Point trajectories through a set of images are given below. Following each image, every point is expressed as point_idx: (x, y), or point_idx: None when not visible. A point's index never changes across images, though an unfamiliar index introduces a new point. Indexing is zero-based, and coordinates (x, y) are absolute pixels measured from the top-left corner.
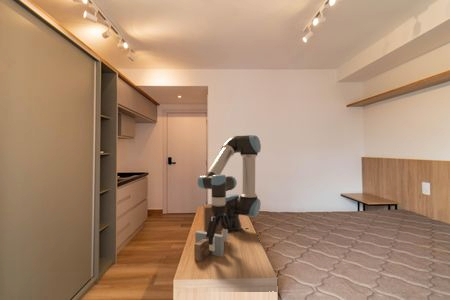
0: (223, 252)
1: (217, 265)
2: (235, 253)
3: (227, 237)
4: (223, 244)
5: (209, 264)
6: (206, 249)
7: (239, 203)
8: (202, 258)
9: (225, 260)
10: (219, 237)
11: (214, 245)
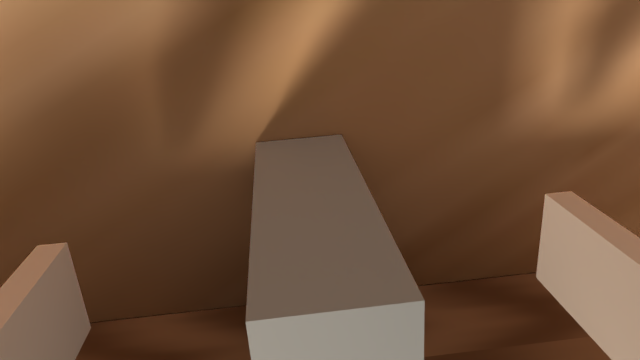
0: (268, 152)
1: (582, 30)
2: (106, 9)
3: (4, 293)
4: (268, 204)
5: (594, 135)
6: (465, 344)
7: None
8: (524, 281)
9: (405, 15)
10: (418, 331)
11: (611, 237)
